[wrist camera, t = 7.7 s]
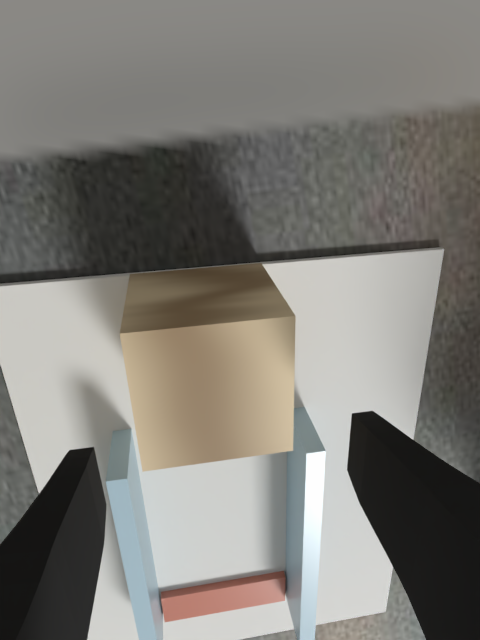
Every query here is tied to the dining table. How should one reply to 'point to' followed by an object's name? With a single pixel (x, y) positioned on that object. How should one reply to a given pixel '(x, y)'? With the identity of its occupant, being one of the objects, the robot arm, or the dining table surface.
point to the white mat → (242, 473)
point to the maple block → (208, 365)
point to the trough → (229, 594)
